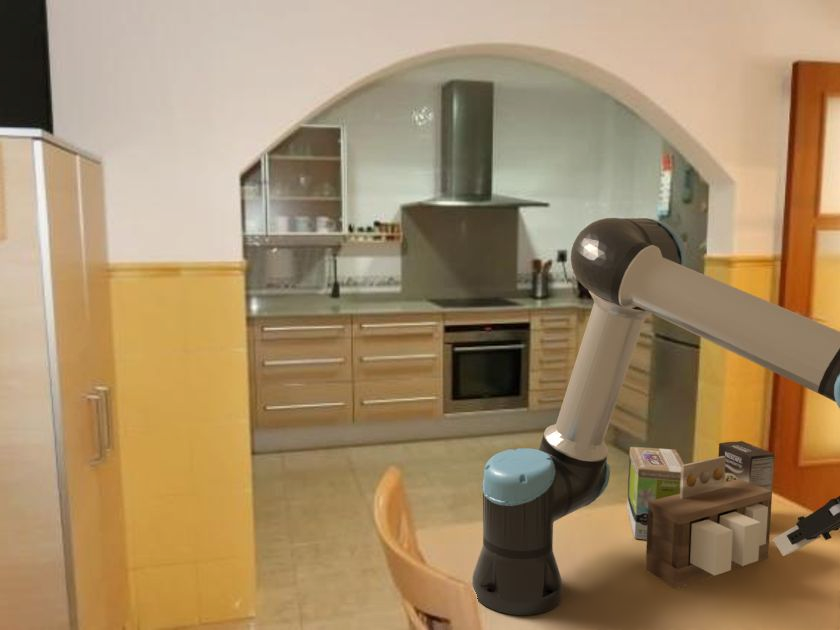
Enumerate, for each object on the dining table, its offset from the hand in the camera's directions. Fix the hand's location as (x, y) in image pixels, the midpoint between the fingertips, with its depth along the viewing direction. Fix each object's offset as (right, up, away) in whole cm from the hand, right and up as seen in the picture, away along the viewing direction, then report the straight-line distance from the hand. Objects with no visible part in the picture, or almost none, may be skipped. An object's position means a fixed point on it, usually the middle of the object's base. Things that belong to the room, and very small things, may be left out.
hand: (780, 546), depth 103 cm
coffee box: (+13, -8, +39) cm, 42 cm away
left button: (-6, -7, +12) cm, 15 cm away
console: (-2, -10, +21) cm, 23 cm away
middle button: (+1, -7, +15) cm, 17 cm away
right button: (+5, -6, +21) cm, 23 cm away
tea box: (-6, -9, +37) cm, 39 cm away
